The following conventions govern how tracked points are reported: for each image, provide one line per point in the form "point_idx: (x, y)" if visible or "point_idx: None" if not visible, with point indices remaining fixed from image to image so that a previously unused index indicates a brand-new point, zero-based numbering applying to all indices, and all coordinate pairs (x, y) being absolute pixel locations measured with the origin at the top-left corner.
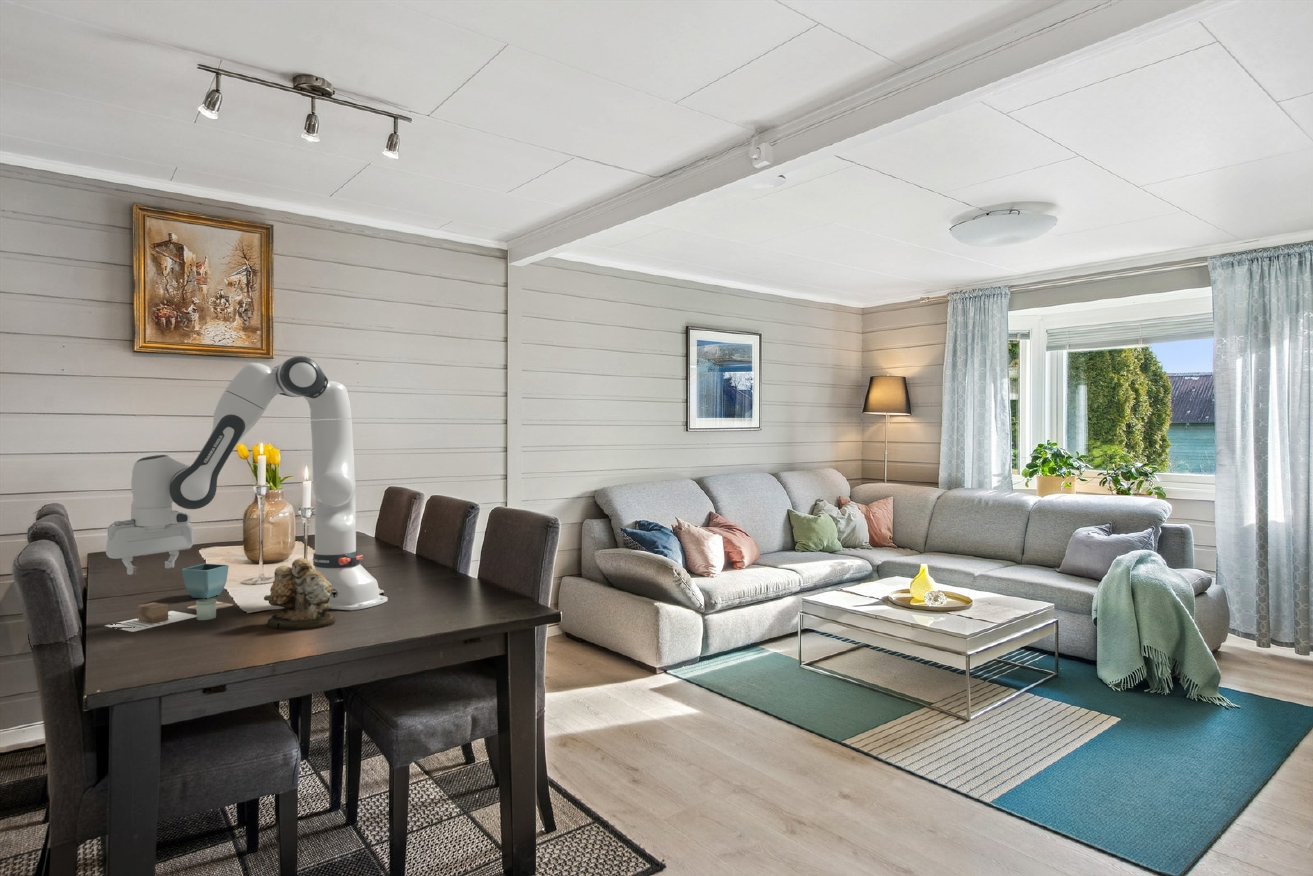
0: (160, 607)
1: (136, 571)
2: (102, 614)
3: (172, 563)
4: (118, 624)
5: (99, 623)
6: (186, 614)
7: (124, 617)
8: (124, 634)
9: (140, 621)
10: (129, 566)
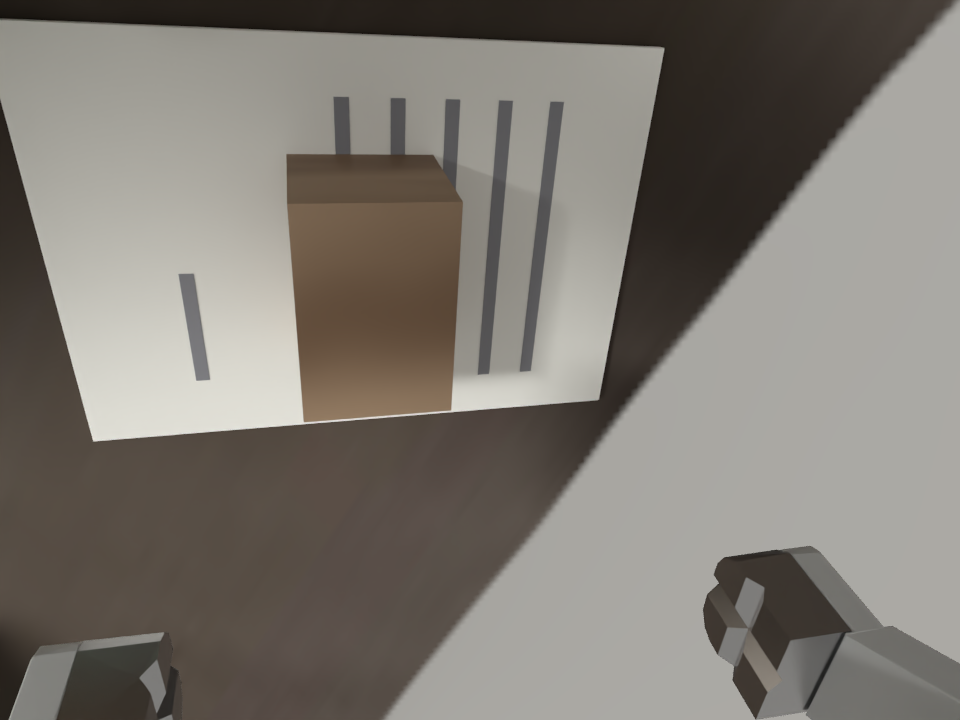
0: (374, 199)
1: (752, 574)
2: (403, 661)
3: (58, 717)
4: (544, 360)
5: (543, 496)
6: (62, 212)
7: (385, 526)
8: (703, 69)
9: None
10: (922, 648)
